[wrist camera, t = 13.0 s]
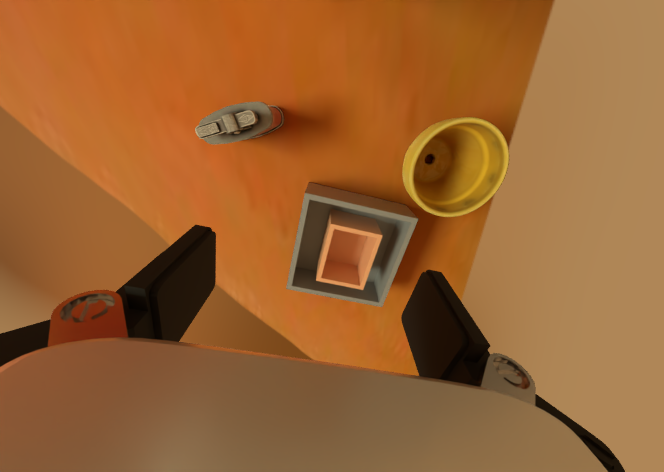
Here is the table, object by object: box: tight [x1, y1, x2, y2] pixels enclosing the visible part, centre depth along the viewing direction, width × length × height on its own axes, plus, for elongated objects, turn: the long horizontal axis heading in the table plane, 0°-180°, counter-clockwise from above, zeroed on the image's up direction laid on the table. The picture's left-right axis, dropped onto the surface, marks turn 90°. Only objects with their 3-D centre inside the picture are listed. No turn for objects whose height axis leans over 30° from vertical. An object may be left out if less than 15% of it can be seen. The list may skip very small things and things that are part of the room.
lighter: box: [195, 102, 284, 144], centre depth 28 cm, size 8×3×10 cm, turn 105°
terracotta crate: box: [316, 209, 383, 290], centre depth 36 cm, size 9×7×6 cm
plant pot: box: [402, 117, 509, 217], centre depth 30 cm, size 10×10×10 cm
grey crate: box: [286, 182, 418, 307], centre depth 37 cm, size 15×15×6 cm
